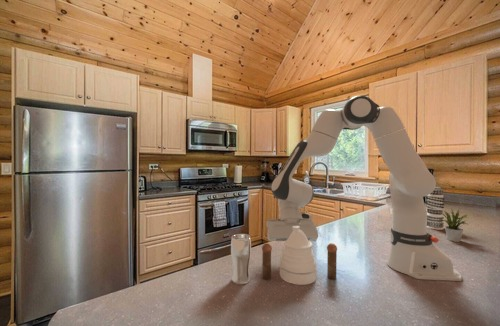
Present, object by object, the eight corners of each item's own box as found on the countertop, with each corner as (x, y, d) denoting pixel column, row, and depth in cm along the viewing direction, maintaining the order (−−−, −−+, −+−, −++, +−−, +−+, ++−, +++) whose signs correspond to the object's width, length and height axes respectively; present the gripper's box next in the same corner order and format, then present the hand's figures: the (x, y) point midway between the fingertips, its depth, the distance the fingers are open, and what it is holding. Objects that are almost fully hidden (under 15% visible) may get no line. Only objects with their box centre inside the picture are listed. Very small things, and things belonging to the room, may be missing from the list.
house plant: (476, 248, 111) (476, 213, 111) (438, 242, 119) (438, 209, 119) (471, 240, 122) (472, 208, 122) (437, 234, 131) (438, 205, 131)
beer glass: (248, 286, 77) (248, 240, 77) (228, 284, 79) (228, 239, 79) (252, 276, 84) (252, 234, 84) (233, 274, 86) (233, 233, 85)
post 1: (272, 276, 84) (272, 242, 84) (270, 280, 81) (270, 246, 81) (263, 274, 85) (263, 241, 85) (260, 279, 82) (260, 245, 82)
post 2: (336, 275, 85) (336, 242, 84) (337, 280, 81) (337, 245, 81) (326, 274, 85) (326, 241, 85) (326, 279, 82) (327, 244, 82)
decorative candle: (425, 228, 143) (426, 187, 143) (424, 224, 151) (425, 185, 151) (444, 230, 138) (445, 188, 138) (443, 227, 146) (443, 186, 145)
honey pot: (309, 288, 76) (309, 233, 76) (273, 278, 83) (273, 226, 83) (320, 272, 87) (321, 223, 87) (288, 264, 94) (288, 219, 93)
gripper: (266, 215, 98) (268, 247, 89) (315, 215, 98) (322, 247, 89) (265, 222, 103) (267, 254, 93) (312, 223, 103) (318, 254, 93)
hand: (294, 251), depth 91 cm, fingers closed, pressing on honey pot
